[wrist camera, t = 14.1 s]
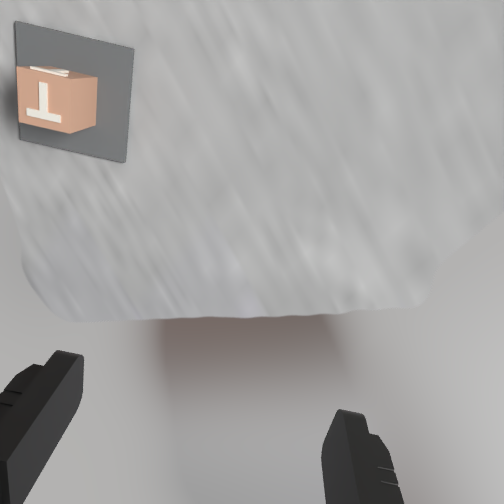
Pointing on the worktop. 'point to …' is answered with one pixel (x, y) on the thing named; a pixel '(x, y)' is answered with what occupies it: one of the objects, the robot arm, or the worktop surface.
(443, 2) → the worktop surface
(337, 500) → the robot arm
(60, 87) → the lettered block
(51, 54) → the charcoal mat
